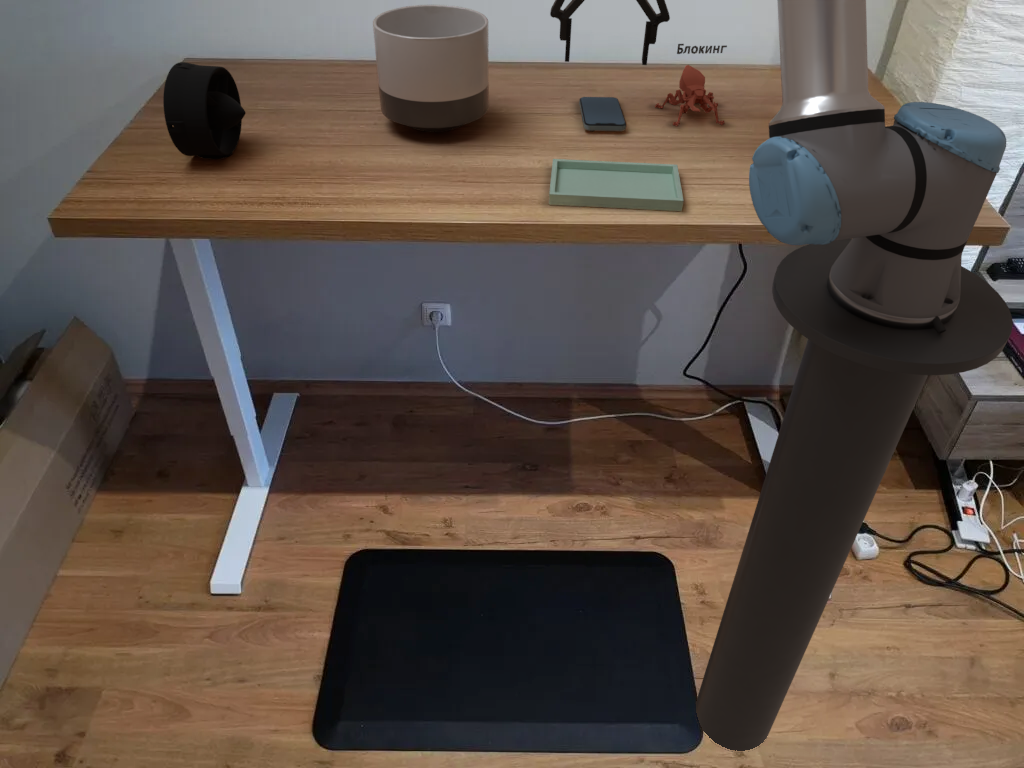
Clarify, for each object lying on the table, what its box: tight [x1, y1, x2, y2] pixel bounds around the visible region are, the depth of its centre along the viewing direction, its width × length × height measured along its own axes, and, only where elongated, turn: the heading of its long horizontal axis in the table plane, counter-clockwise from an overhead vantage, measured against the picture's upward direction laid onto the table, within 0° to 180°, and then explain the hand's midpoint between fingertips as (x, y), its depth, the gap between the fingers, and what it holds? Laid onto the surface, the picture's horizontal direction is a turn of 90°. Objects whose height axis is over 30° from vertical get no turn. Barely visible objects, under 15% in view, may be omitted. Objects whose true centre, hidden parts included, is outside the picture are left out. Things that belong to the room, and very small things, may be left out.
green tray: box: [548, 158, 684, 212], centre depth 126 cm, size 13×20×2 cm, turn 85°
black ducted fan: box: [162, 61, 247, 160], centre depth 130 cm, size 14×14×10 cm
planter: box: [372, 4, 490, 133], centre depth 140 cm, size 19×19×18 cm
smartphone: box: [578, 96, 627, 133], centre depth 148 cm, size 8×2×15 cm
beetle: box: [654, 43, 728, 127], centre depth 146 cm, size 15×12×13 cm
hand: (605, 61), depth 142 cm, fingers open, 13 cm apart
